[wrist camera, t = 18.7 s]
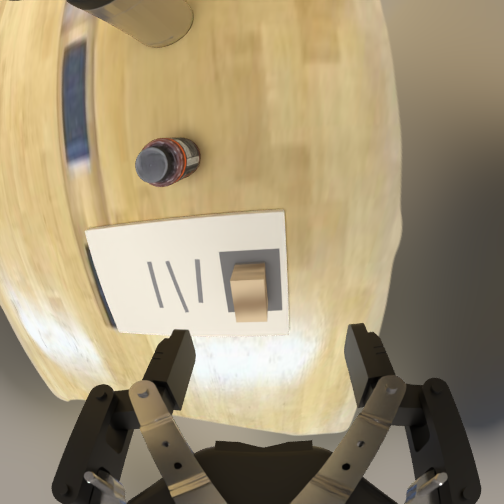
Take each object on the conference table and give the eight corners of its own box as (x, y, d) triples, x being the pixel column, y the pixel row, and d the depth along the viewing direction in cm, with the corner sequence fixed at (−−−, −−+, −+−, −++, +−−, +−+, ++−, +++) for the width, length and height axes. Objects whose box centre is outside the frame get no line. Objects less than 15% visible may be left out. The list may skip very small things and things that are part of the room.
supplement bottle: (172, 183, 39) (138, 200, 28) (157, 148, 37) (119, 153, 26) (207, 167, 38) (183, 179, 27) (192, 130, 36) (163, 128, 25)
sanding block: (235, 263, 41) (230, 280, 36) (265, 261, 41) (263, 279, 36) (240, 301, 44) (236, 322, 39) (267, 300, 44) (267, 321, 39)
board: (89, 228, 43) (84, 230, 41) (283, 208, 39) (284, 211, 38) (122, 327, 51) (119, 332, 50) (288, 329, 48) (288, 335, 46)
